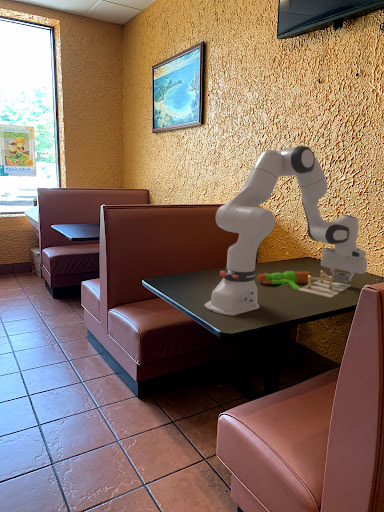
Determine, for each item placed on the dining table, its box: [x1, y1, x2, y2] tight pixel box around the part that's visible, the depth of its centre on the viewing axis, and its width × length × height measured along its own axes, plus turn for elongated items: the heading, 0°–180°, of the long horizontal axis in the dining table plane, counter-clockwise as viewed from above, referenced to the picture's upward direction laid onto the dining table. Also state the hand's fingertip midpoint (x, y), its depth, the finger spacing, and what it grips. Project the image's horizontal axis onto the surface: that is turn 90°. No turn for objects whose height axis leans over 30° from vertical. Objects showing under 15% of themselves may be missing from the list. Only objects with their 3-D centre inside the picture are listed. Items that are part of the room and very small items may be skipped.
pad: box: [332, 281, 352, 290], centre depth 177 cm, size 7×7×1 cm
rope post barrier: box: [307, 269, 334, 289], centre depth 173 cm, size 16×9×6 cm, turn 139°
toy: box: [257, 270, 312, 290], centre depth 176 cm, size 7×25×15 cm
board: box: [297, 280, 348, 298], centre depth 173 cm, size 25×15×1 cm, turn 139°
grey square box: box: [333, 271, 351, 284], centre depth 176 cm, size 6×6×3 cm
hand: (341, 279), depth 176 cm, fingers closed on grey square box, 5 cm apart
